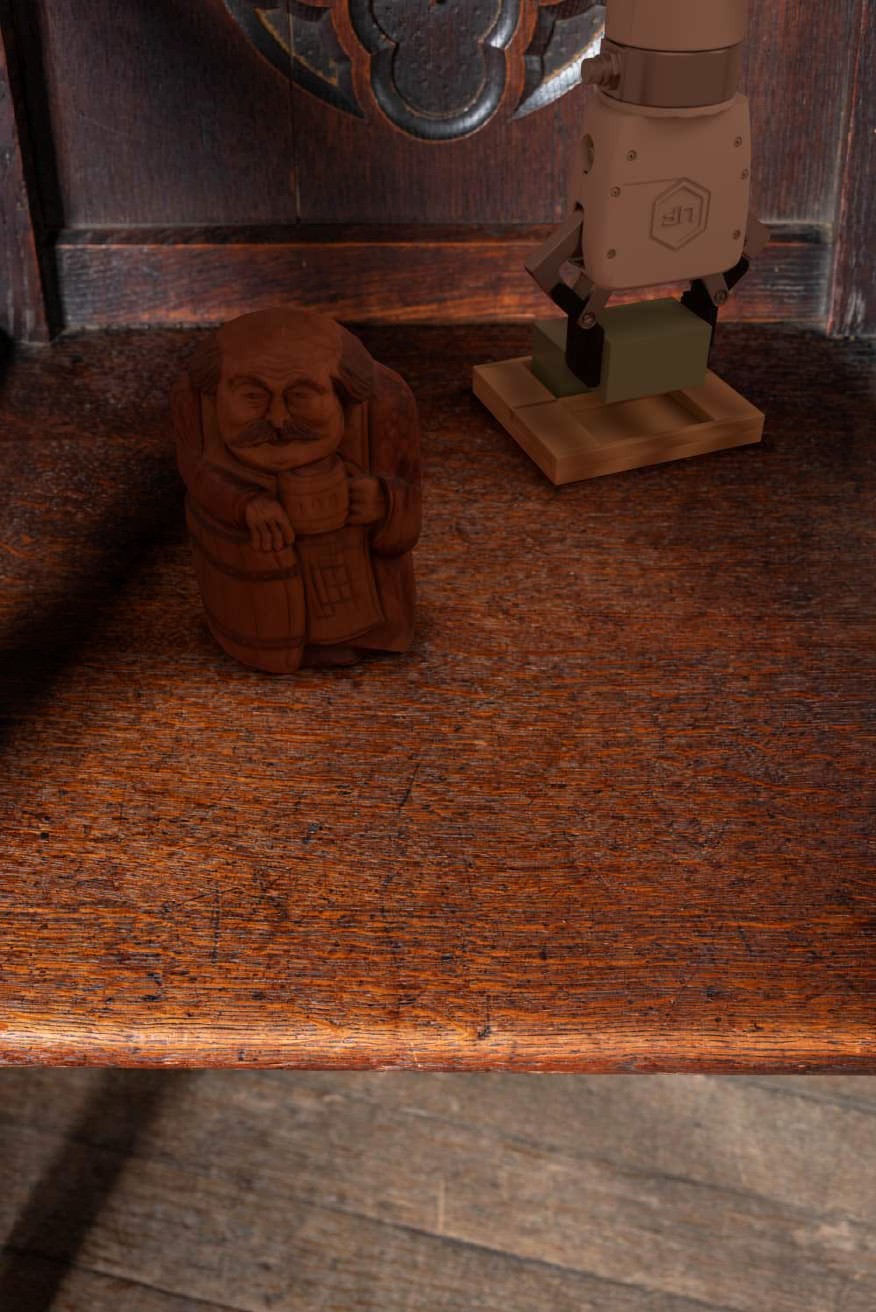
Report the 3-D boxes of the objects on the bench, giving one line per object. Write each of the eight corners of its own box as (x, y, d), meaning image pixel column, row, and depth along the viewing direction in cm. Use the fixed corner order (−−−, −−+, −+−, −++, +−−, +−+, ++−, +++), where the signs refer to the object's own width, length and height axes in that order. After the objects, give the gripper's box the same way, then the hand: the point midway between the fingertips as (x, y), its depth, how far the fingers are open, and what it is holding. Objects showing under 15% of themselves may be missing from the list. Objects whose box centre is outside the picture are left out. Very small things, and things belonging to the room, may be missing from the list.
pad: (665, 353, 84) (672, 296, 81) (704, 385, 80) (712, 326, 78) (570, 370, 82) (574, 312, 79) (605, 404, 78) (611, 344, 76)
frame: (659, 356, 93) (666, 291, 90) (760, 441, 83) (772, 372, 80) (472, 391, 89) (472, 325, 86) (555, 486, 79) (559, 414, 76)
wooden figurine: (202, 684, 64) (147, 358, 53) (203, 610, 69) (153, 298, 58) (430, 662, 66) (424, 339, 54) (415, 591, 71) (407, 281, 59)
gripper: (555, 106, 64) (538, 418, 75) (842, 73, 69) (786, 371, 80) (498, 70, 70) (490, 366, 81) (767, 42, 75) (725, 325, 86)
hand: (638, 366), depth 81 cm, fingers closed on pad, 7 cm apart
